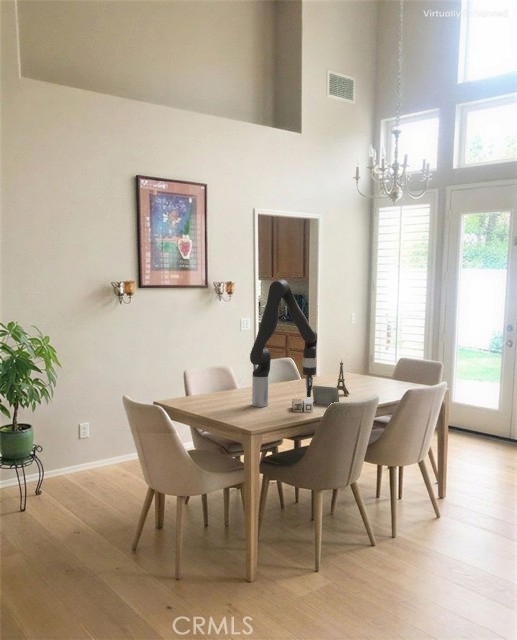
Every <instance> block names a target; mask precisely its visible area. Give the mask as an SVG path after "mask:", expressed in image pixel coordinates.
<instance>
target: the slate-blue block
mask: <svg viewBox="0 0 517 640" xmlns="http://www.w3.org/2000/svg"><path fill="white" fill-rule="evenodd" d="M302 411H303V412H304V413H305V412H309V413H314V400H312V399H311V398H302Z"/></svg>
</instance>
